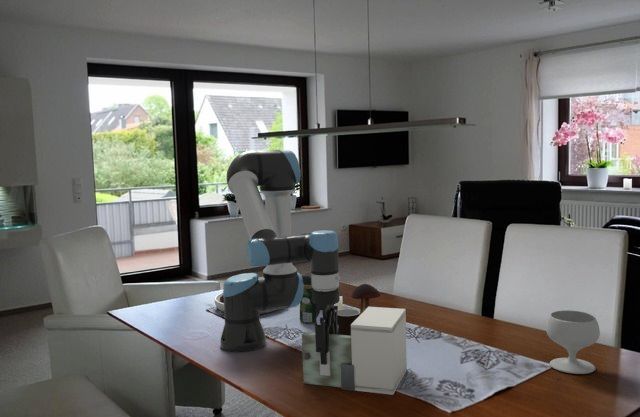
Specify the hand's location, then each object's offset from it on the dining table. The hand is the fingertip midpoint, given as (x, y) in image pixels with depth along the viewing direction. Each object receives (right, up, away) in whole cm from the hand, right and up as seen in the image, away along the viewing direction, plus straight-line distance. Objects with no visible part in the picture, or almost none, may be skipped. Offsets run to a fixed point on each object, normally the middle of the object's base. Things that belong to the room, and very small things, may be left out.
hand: (328, 371), depth 158 cm
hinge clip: (+6, -4, -2) cm, 7 cm away
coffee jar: (-5, +2, +60) cm, 61 cm away
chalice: (+70, -1, +7) cm, 70 cm away
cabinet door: (0, -4, 0) cm, 4 cm away
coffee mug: (+7, 0, +37) cm, 38 cm away
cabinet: (+15, -3, +2) cm, 15 cm away
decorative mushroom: (+15, +2, +54) cm, 56 cm away
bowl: (-31, +3, +84) cm, 89 cm away
